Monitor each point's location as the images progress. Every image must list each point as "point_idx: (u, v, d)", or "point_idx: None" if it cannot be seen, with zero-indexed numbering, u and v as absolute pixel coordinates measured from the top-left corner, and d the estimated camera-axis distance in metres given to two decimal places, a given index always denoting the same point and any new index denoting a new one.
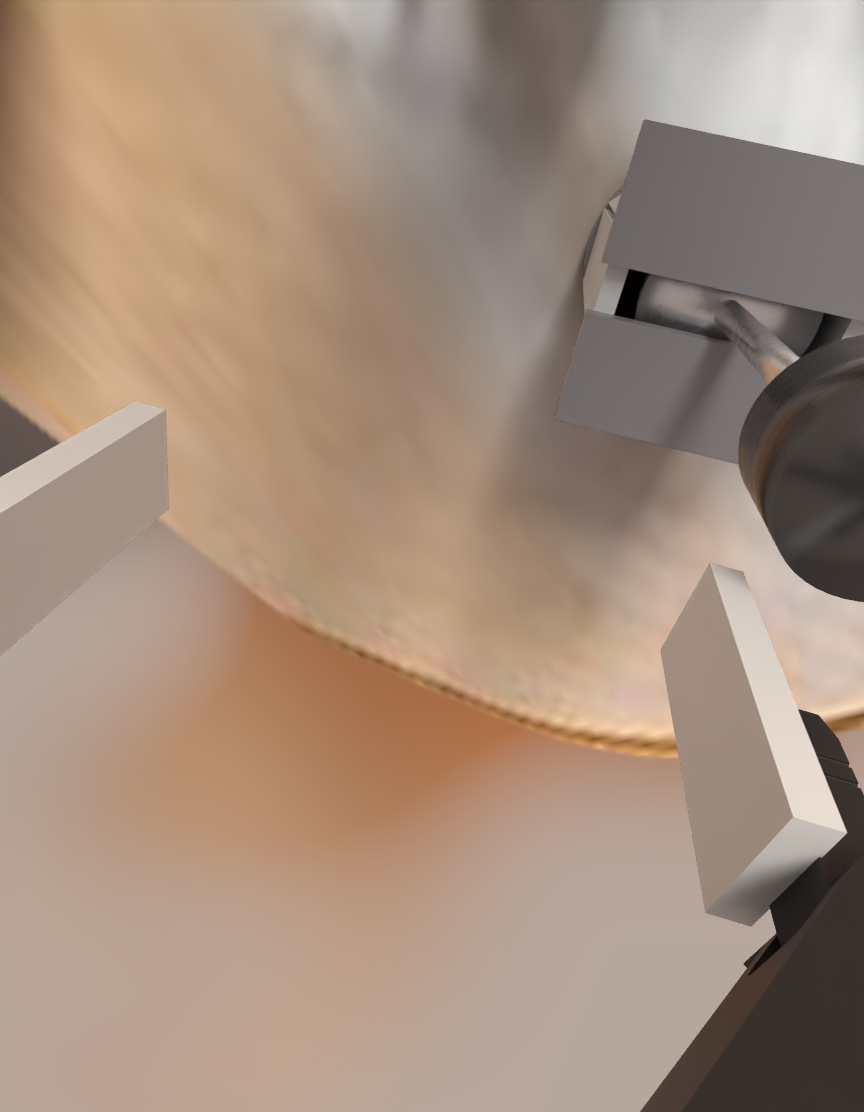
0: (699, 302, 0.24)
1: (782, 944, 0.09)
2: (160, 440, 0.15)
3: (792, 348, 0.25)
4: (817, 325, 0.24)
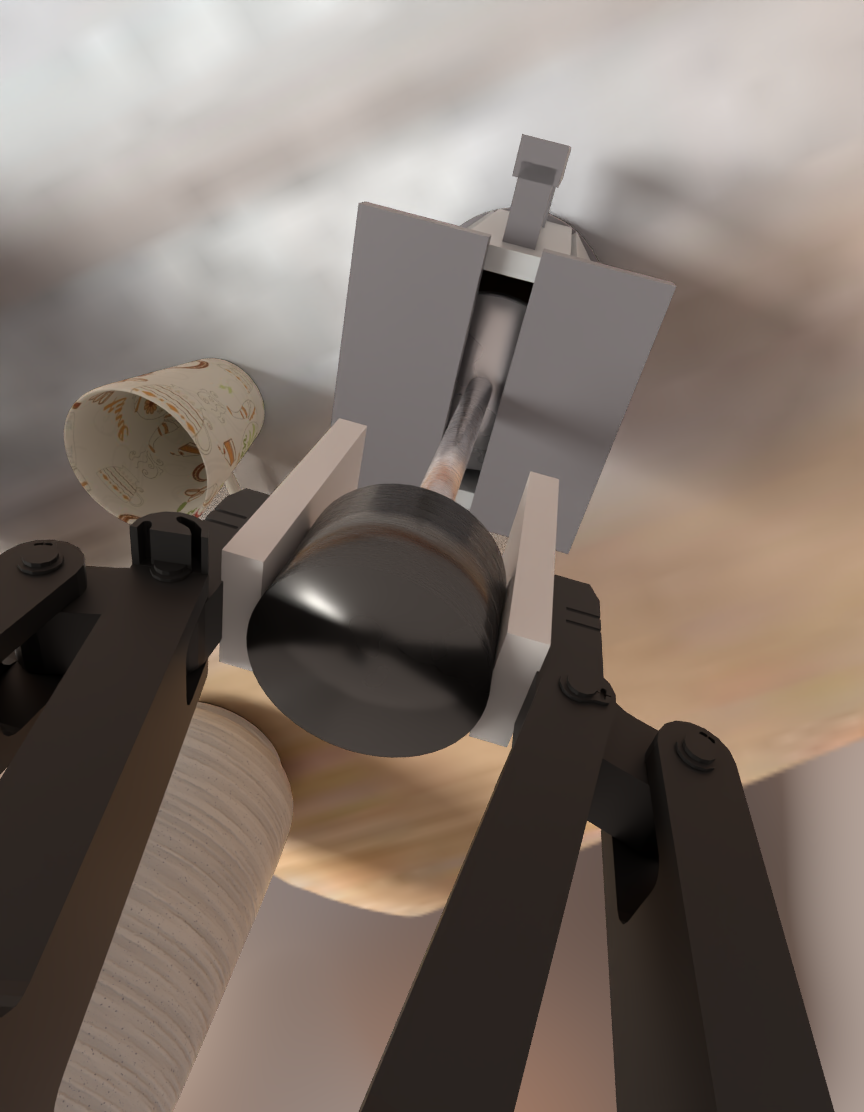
0: None
1: None
2: (360, 454, 0.16)
3: (518, 319, 0.23)
4: (494, 298, 0.22)
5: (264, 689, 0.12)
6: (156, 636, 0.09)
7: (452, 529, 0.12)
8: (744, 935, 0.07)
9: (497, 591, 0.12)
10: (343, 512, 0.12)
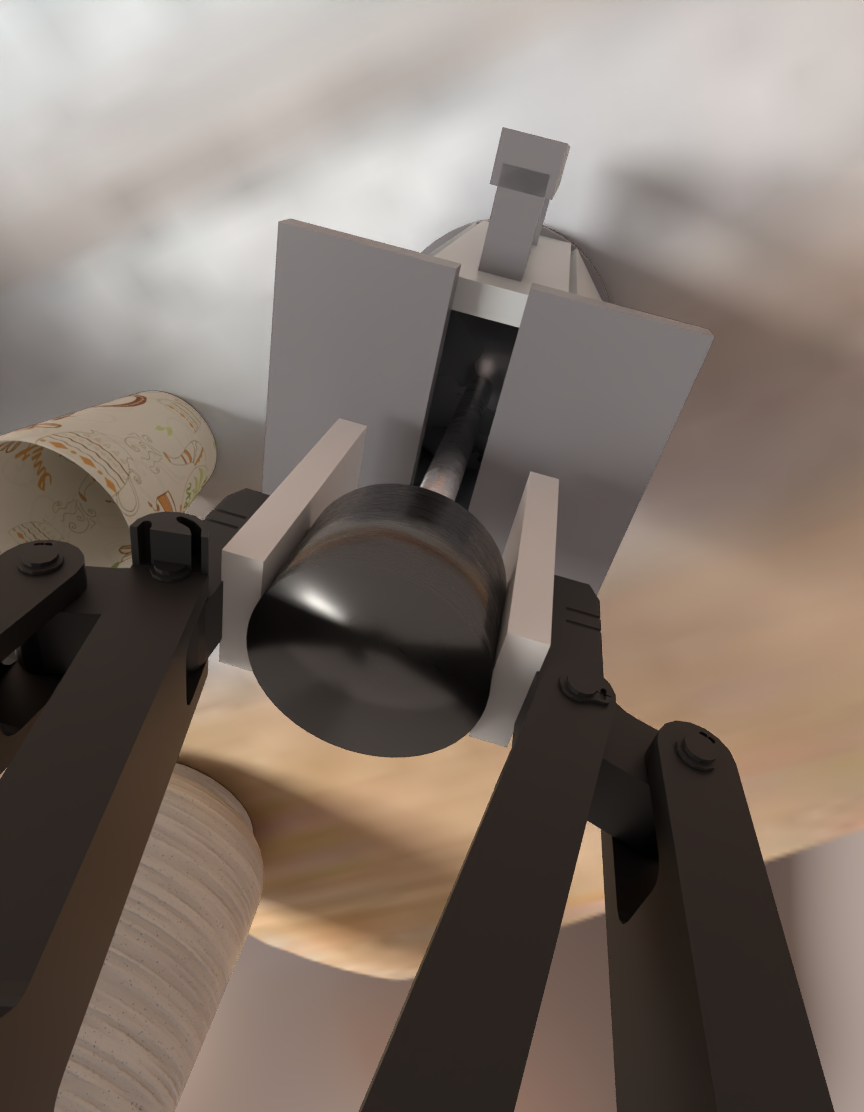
0: None
1: None
2: (360, 454, 0.16)
3: None
4: None
5: (264, 689, 0.12)
6: (156, 636, 0.09)
7: (452, 528, 0.12)
8: (744, 934, 0.07)
9: (497, 591, 0.12)
10: (343, 512, 0.12)
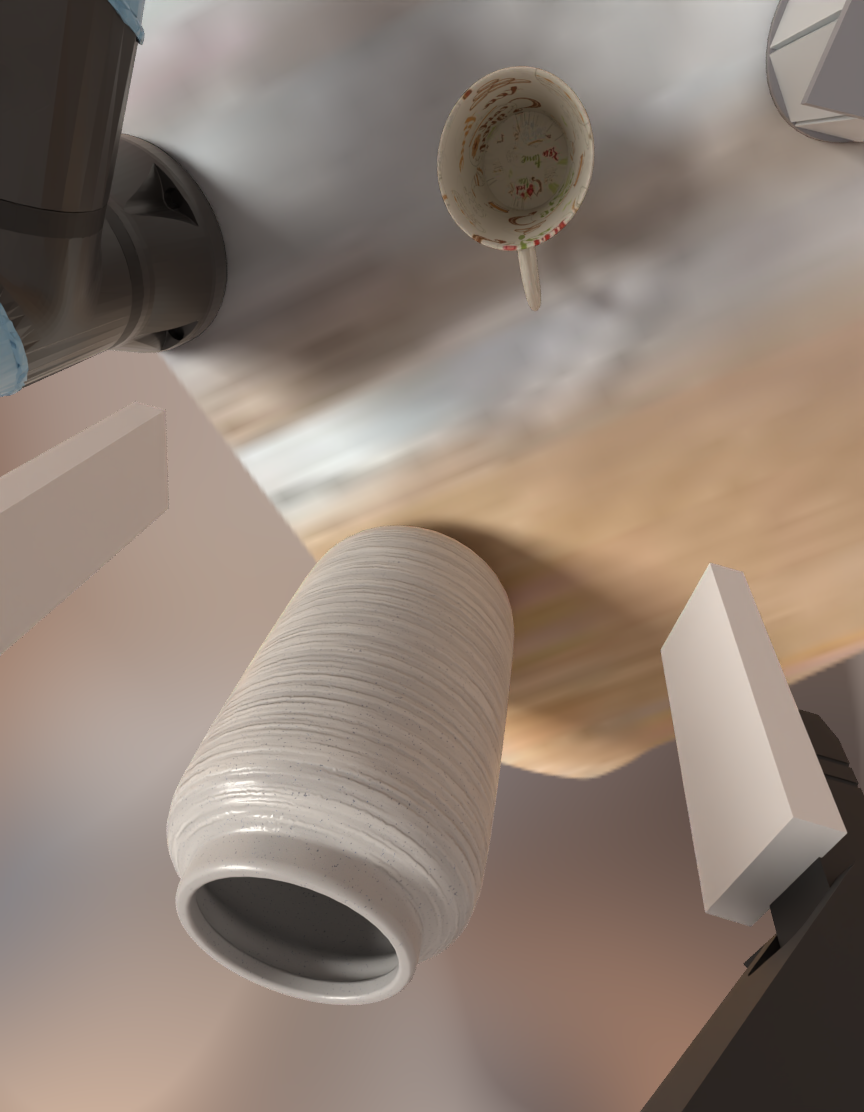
0: None
1: (782, 944, 0.09)
2: (160, 440, 0.15)
3: None
4: None
5: None
6: None
7: None
8: None
9: None
10: None
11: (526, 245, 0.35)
